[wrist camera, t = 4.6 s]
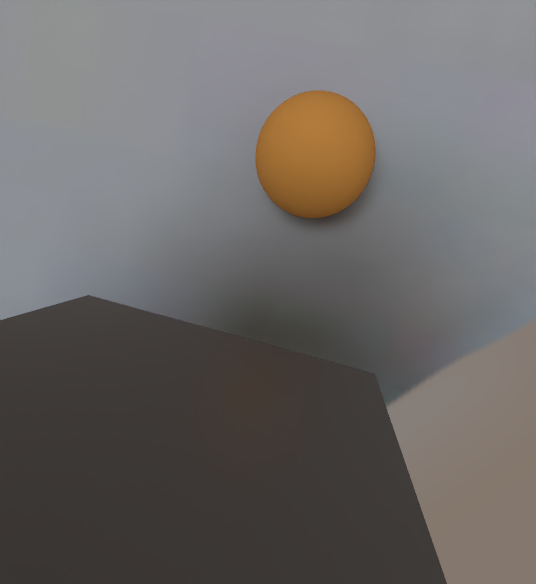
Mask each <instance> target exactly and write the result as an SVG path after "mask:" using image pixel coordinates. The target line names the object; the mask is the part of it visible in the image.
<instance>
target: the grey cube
mask: <svg viewBox="0 0 536 584" xmlns="http://www.w3.org/2000/svg"><path fill="white" fill-rule="evenodd" d="M0 584H447V583H446V580H445V577H444V574H443V571H442V568H441V565H440V563H439V560H438V557H437V554H436V551H435V548H434V545H433V543H432V539H431V537H430V533H429V531H428V528H427V525H426V522H425V519H424V516H423V513H422V511H421V507H420V504H419V502H418V499H417V496H416V493H415V490H414V487H413V484H412V481H411V479H410V475H409V473H408V470H407V467H406V464H405V461H404V458H403V455H402V452H401V450H400V447H399V444H398V441H397V438H396V435H395V432H394V429H393V426H392V423H391V421H390V418H389V415H388V412H387V409H386V406H385V403H384V400H383V397H382V394H381V392H380V389H379V386H378V383H377V380H376V377H375V374H372V373H369V372H365V371H361V370H358V369H354V368H350V367H347V366H343V365H340V364H336V363H332V362H329V361H325V360H322V359H318V358H314V357H311V356H307V355H303V354H300V353H296V352H293V351H289V350H285V349H282V348H278V347H274V346H271V345H267V344H264V343H260V342H256V341H253V340H249V339H245V338H242V337H238V336H235V335H231V334H227V333H224V332H220V331H216V330H213V329H209V328H206V327H202V326H198V325H195V324H191V323H187V322H184V321H180V320H177V319H173V318H169V317H166V316H162V315H158V314H155V313H151V312H148V311H144V310H140V309H137V308H133V307H129V306H126V305H122V304H119V303H115V302H111V301H108V300H104V299H100V298H97V297H93V296H90V295H87V296H84V297H80V298H77V299H73V300H70V301H66V302H63V303H59V304H56V305H52V306H49V307H45V308H42V309H38V310H35V311H31V312H28V313H24V314H21V315H17V316H14V317H10V318H7V319H3V320H0Z"/></svg>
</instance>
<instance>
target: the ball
mask: <svg viewBox="0 0 536 584" xmlns="http://www.w3.org/2000/svg"><path fill="white" fill-rule="evenodd" d="M374 163H375V140H374V136H373V132H372V129H371V126H370V124H369V122H368V120H367V118H366V117H365V115H364V113H363V112H362V111H361V110H360V109H359V108H358V107H357V106H356V105H355V104H354V103H353V102H352V101H350V100H349V99H347V98H345V97H343V96H341V95H339V94H336V93H333V92H328V91H308V92H304V93H300V94H298V95H295V96H293V97H291V98H289V99H288V100H286V101H284V102H283V103H282V104H281V105H279V106H278V107H277V108H276V109H275V110H274V111H273V112H272V113H271V115H270V116H269V117H268V119H267V120H266V122H265V124H264V125H263V127H262V130H261V132H260V134H259V138H258V141H257V147H256V169H257V174H258V177H259V180H260V183H261V185H262V187H263V189H264V190H265V192H266V193H267V195H268V196H269V197H270V199H271V200H272V201H273V202H274V203H275V204H276V205H277V206H279V207H280V208H281V209H283V210H284V211H286V212H288V213H290V214H293V215H296V216H299V217H304V218H322V217H326V216H330V215H333V214H335V213H337V212H339V211H341V210H343V209H345V208H346V207H348V206H349V205H350V204H351V203H353V202H354V201H355V200H356V199H357V198H358V196H359V195H360V194H361V193H362V191H363V190H364V188H365V187H366V185H367V183H368V181H369V179H370V176H371V174H372V171H373V167H374Z"/></svg>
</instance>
